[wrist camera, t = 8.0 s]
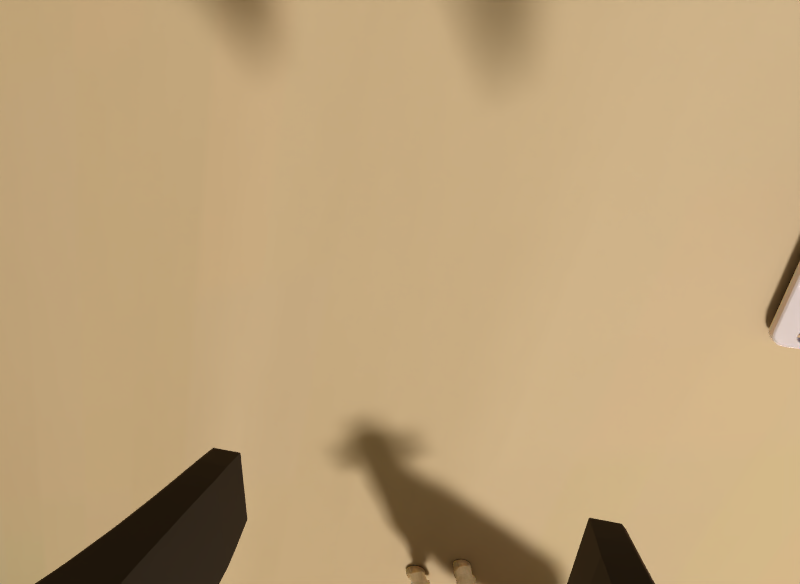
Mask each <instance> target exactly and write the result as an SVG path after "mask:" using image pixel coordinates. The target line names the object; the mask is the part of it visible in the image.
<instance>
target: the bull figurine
mask: <svg viewBox="0 0 800 584" xmlns="http://www.w3.org/2000/svg"><path fill="white" fill-rule="evenodd" d="M453 569H454V575H455V578H456V581H457V584H474V583H475V582H476V577H475V576H473V575H472V570H471V564H470V563H469V562H467V561H465V560H462V559H460V560H455V561H454V563H453ZM406 574H407V576H408V578H409V580H410V582H411V584H430V582H429V580H427V579H426V576H425V571H424V569H423V568H421V567H419V566H410V567H408V568H407V569H406Z"/></svg>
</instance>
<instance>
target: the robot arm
mask: <svg viewBox="0 0 800 584" xmlns="http://www.w3.org/2000/svg"><path fill="white" fill-rule="evenodd" d="M799 334H800V262H799V264H798V266H797V268H796V270H795V273H794V275H793V277H792V279H791V281H790V284H789V286H788V288H787V290H786V293H785V295H784V297H783V299H782V301H781V304H780V306H779V308H778V310H777V312H776V315H775V317H774V319H773V321H772V324H771V326H770V328H769V335H770V337H771V338H772V340H773V341H774V342H775V343H776V344H778V345H780V346H783V347H790V348H797V349H800V338H797V336H798V335H799ZM246 521H247V512H246V503H245V493H244V484H243V474H242V465H241V455H240V453H238V452H233V451H227V450H222V449H217V448H213V449H211V450H210V451H209V452H207V453H206V454H205V455H204V456H202V457H201V458H200V459H199V460H198V461H196V462H195V463H194V464H193V465H191V466H190V467H189V468H188V469H187V470H185V471H184V472H183V473H182V474H181V475H179V476H178V477H177V478H176V479H175V480H173V481H172V482H171V483H170V484H168V485H167V486H166V487H165V488H164V489H162V490H161V491H160V492H159V493H157V494H156V495H155V496H154V497H153V498H151V499H150V500H149V501H147V502H146V503H145V504H144V505H142V506H141V507H140V508H139V509H137V510H136V511H135V512H133V513H132V514H131V515H130V516H128V517H127V518H126V519H125V520H123V521H122V522H121V523H120V524H118V525H117V526H116V527H114V528H113V529H112V530H110V531H109V532H108V533H106V534H105V535H104V536H102V537H101V538H99V539H98V540H97V541H95V542H94V543H93V544H91V545H90V546H88V547H87V548H86V549H84V550H83V551H82V552H80V553H79V554H77V555H76V556H75V557H73V558H72V559H71V560H69V561H68V562H66V563H65V564H63V565H62V566H61V567H59V568H58V569H56V570H55V571H53V572H52V573H50V574H49V575H47V576H46V577H44V578H43V579H41V580H40V581H38V582H37V583H35V584H219V583H220V581H221V579H222V577H223V575H224V573H225V572H226V570H227V568H228V565H229V563H230V561H231V558H232V556H233V554H234V551H235V549H236V546H237V544H238V542H239V539H240V536H241V534H242V531H243V529H244V526H245V524H246ZM567 584H655V583H654V581H653V580H652V578H651V576H650V574H649V572H648V570H647V569H646V567H645V565H644V563H643V561H642V559H641V557H640V555H639V554H638V552H637V550H636V548H635V546H634V544H633V542H632V540H631V538H630V536H629V534H628V532H627V531H626V529H625V528H624V526H623V525H622V524H620V523H614V522H609V521H603V520H598V519H593V518H589V520H588V523H587V526H586V529H585V532H584V535H583V538H582V541H581V544H580V547H579V550H578V553H577V556H576V559H575V562H574V565H573V568H572V571H571V574H570V577H569V580H568V583H567Z"/></svg>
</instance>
